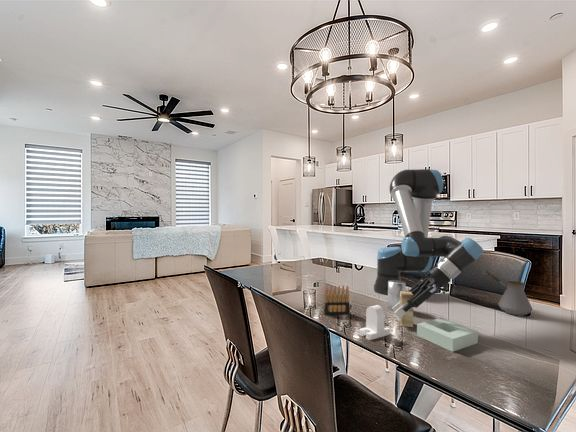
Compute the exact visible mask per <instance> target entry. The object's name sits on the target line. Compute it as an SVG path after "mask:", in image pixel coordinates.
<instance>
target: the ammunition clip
mask: <svg viewBox="0 0 576 432" xmlns="http://www.w3.org/2000/svg"><path fill="white" fill-rule="evenodd" d="M332 287H333V289H332ZM349 291H350V290H349V286H348V284H347V285H346V288H345V285H342V286H340V285H338V286H336V285H334V286H332V285H329V289H328V286H327V285H325V289H324V300H323V301H324V302H323V315H324V316H329V315H330V316H331V315H333V316H336V315H337V316H339V315H343V316H344V315H351V313H350V312H351V309H350V307H351V306H350V292H349Z"/></svg>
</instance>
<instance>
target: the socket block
mask: <svg viewBox="0 0 576 432" xmlns="http://www.w3.org/2000/svg"><path fill="white" fill-rule="evenodd" d="M416 336H417V337H420V338H421V339H424V340H426V341H428V342H430V343H432V344H435V345H437V346H439V347H441V348H444V349H446V350H448V351H450V352H451V353H452V352H453V353H454V352H457V351H459V350H461V349H465V348H468V347H471V346H474V345H476V344H478V343H479V331H478V330H476V329H474V328H470V327H468V326H466V325H463V324H460V323H457V322H454V321H451V320H449V319H446V318H444V317H440V318H436V319H431V320H428V321H427V320H426V321H423V322H420V323H417V324H416Z"/></svg>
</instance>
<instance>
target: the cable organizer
mask: <svg viewBox="0 0 576 432" xmlns="http://www.w3.org/2000/svg"><path fill="white" fill-rule="evenodd" d="M390 331H391V329H390V327H388V326H386V327H385V311H384V309H383V308H382V306H381V305H379V304H376V305H370V306H368V307H367V308H366V311H365V327H362V328H361V327H360V328H359V331H358V332H359V336H361V337H364V336H365V339H366V340H368V341H372V340H375V339H379V338H382V337H386V336H389V335H390Z"/></svg>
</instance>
